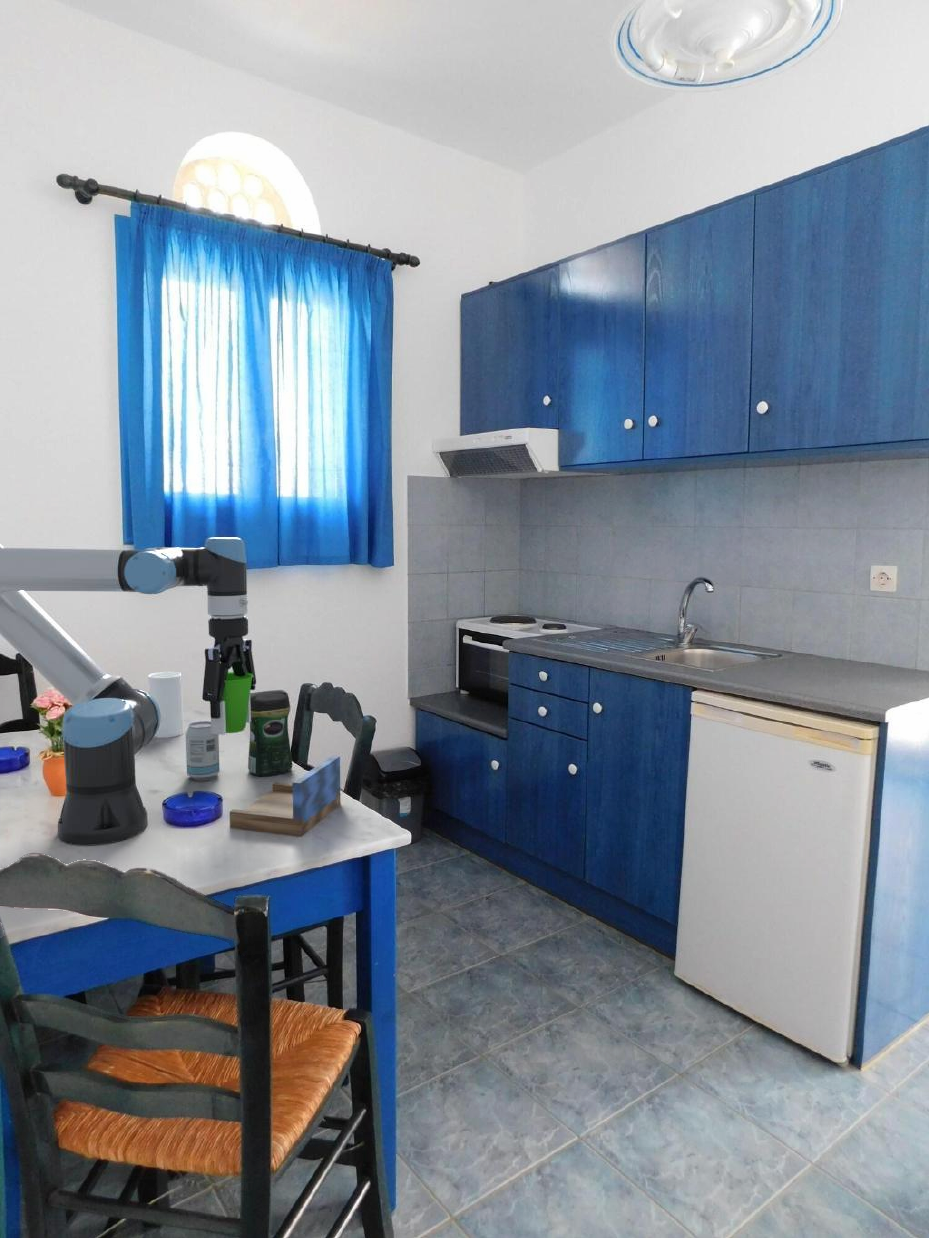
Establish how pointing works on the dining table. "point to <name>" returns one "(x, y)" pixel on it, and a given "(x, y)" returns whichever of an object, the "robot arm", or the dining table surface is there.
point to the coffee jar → (269, 733)
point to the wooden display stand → (294, 803)
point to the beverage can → (202, 751)
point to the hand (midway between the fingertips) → (231, 727)
